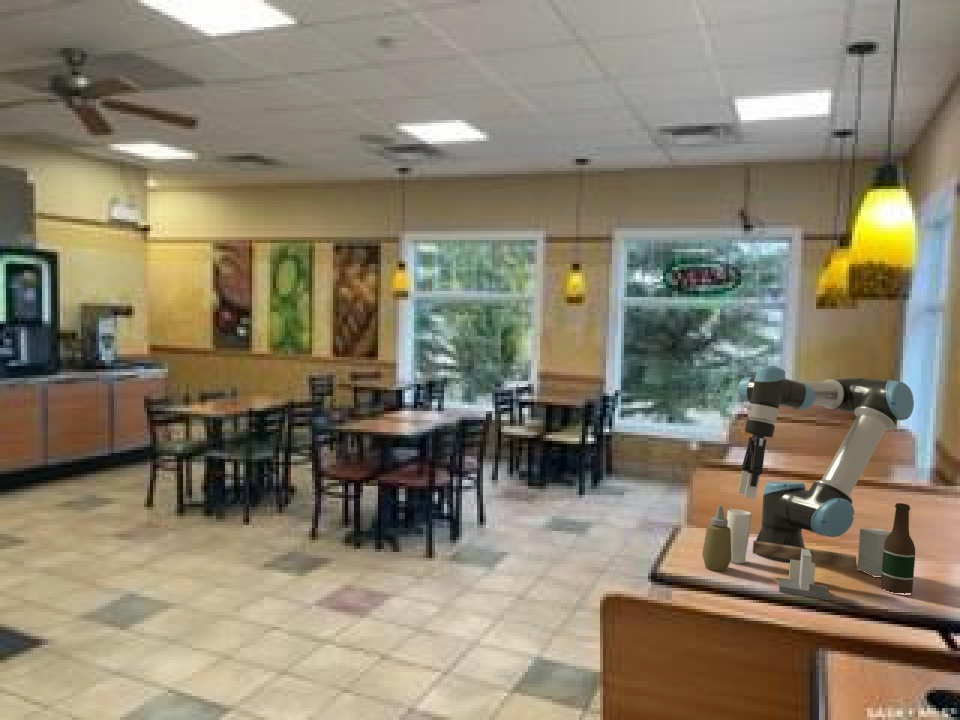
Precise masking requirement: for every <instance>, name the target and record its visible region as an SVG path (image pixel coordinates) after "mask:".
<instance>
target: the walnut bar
mask: <svg viewBox="0 0 960 720" xmlns="http://www.w3.org/2000/svg"><path fill="white" fill-rule="evenodd" d="M752 541H753V545H752V554H753V555H755V554H756V555H758V554H760V555H766V556H773V557H779V558H786V559H792V560H799V561H801V549H808V550H810V553H811V556H812V557H811V562H812V563H815V564H817V565H818V564H820V565H826V566H833V567H838V568H844V569H852V570H857V561H858V558H857V556H856V555H855V554H849V553H848V554H847V553H841V552H840V553H839V552H834V551H828V550H827V551H826V550H819V549H814V548H807V547H805V548H801V547H795V546H788V545H781V544H775V543H768V542H761V541H756V540H752ZM760 555H759V556H760Z"/></svg>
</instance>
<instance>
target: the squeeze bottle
mask: <svg viewBox="0 0 960 720" xmlns="http://www.w3.org/2000/svg"><path fill="white" fill-rule="evenodd" d="M706 526H707V527H706V530H705V537H704V542H703V546H702V547H703V548H702V554H701V555H702V558H703V563H704V567H705V568H707V569H709V570H711V571H714V570H715V571H714V572H725V571H727V570H728V567H729V565H730V563H731V562H730V561H731V530H730V528H729V527H727V526H728V520H727V518H725V514H724V508H723V506H722V505H718V506H717V509H716V513H715V515H714V516H713V517H711V518H710V524H708V525H706Z"/></svg>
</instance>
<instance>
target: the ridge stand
mask: <svg viewBox="0 0 960 720" xmlns="http://www.w3.org/2000/svg"><path fill="white" fill-rule="evenodd" d="M808 549H809V548H808ZM808 549H801V561H800V575H799V582H796V581H790V580H789V579H783V578H778V590H779V593H785V594H790V595H794V596H795V595H796V596H802V597H808V598H813V599H818V598H821V599H820V600H824V599H828V600H827V601H831V593H830V590H829V587H828V586H825V585H820V584H815V583H814V584H810V571H811V557H812V556H811V553H810V550H808Z"/></svg>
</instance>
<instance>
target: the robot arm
mask: <svg viewBox="0 0 960 720" xmlns="http://www.w3.org/2000/svg"><path fill="white" fill-rule="evenodd" d="M737 395H738V397H739V399H741V400H742V401H745V402H748V403H749V406H747V408H746V410H747V411H748V413H747V418H749V419H747V420H746V422H745V427H744V428H745V429H744V432H745V433H747V434H751V435H752V436H750V437H749V438H748V442H747V443H748V444H747V447H746V451H745V455H744V458H743V462H742V464H741V467H742V468H741V469H742V471H741V475H740V481H739V486H738V490H737V493H738V494H741V495H744V498H748V499H751V500H756V498H757V493H758V489H759V483H760V477H761V475H762V474H763V469H764V468H763V467H764V459H765V452H766V451H765V449H766V444H767V438H771V439H772V438H773V437H774V434H775V427H776V426H775V424H776V423H777V419H778V414H779V408H780V407H784V408H785V407H786V408H792V409H793V410H801V411H804V410H807V409H809V408H810V407H811V406H822V407H823V408H825V409H828V410H838V411H842V412H847V413H851V414H854V415H855V417H856V418H855V420H854V421H853V423H852V425H851V427H850V428H849V430H848V432H847V434H846V436H845V437H844V439H843V440H842V442H841V444H840V446H839V448H838V450H837V451H836V453H835V454H834V457H833V459H832V460H831V463H830V464H829V466H828V467H827V470H826V471H825V473H824V474H823V476H822V478H821V479H820V480H816V481H815V480H814V481H813V483H812V484H811V485H810V488H809V490H808V489H807V488H806V485H805V483H803V482H798V481H796V482H795V481H769V482H767V483H765V485H764V489H763V494H762V495H763V498H762V510H761V511H762V514H761V527H760V531H759V532H758V534H757V537H756V539H755V541H761V542H768V543H775V544H781V545H788V546H795V547H801V548H806V546H805V542H804V539H803V533H802V532H803V530H805V531H808V532H812V533H814V534H817V535H820V536H824V537H829V538H837V537H841V536H842V535H844V534H845V533H846V532H848V530H849V529H850V527H851V526H852V524H853V522H854V519H855V517H854V515H855V509H854V506H853V498H852V496H851V494H852V492H853V491H854V489H855V486H856V485H857V483H858V481H859V480H860V478H861V475H862V473H863V472H864V470H865V468H866V467H867V465H868V463H869V462H870V459H871V458H872V456H873V454H874V452H875V450H876V448H877V446H878V445H879V443H880V441H881V439H882V437H883V436H884V434H885V433H886V432H887V431H891V430H892V429H894V427H896V424H897V422H898V421H905V420H908V419H909V418H910V417H911V415H912V414H913V411H914V406H915V405H914V403H915V400H914V395H913V392H912V390H911V388H910V387H909V385H907V383H905V382H902V381H899V380H893V379H889V380H886V379H875V378H874V379H873V378H865V377H853V378H852V377H851V378H838V379H837V378H835V379H834V378H829V379H825V380H823V381H814V380H813V381H812V380H799V379H798V380H797V379H796V380H795V379H789V378H788V379H787V378H786V371H785V370H784V369H783V368H779V367H774V366H769V365H761V366H758V368H757V370H756V374H755V377H754V376H751V377H748V376H747V377H743V378H742V379H741V380H739V383H738V385H737ZM774 423H775V424H774ZM757 555H758V556H761V557H763V558H765V559H771V560H774V561H781V562H785V563H790V559H786V558H779V557H773V556H766V555H760V554H757Z"/></svg>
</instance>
